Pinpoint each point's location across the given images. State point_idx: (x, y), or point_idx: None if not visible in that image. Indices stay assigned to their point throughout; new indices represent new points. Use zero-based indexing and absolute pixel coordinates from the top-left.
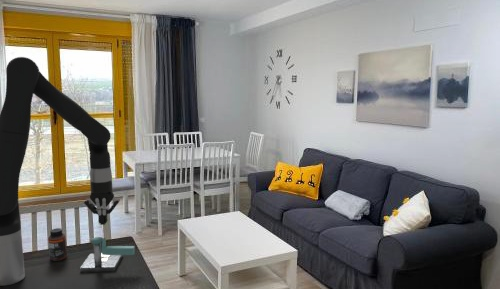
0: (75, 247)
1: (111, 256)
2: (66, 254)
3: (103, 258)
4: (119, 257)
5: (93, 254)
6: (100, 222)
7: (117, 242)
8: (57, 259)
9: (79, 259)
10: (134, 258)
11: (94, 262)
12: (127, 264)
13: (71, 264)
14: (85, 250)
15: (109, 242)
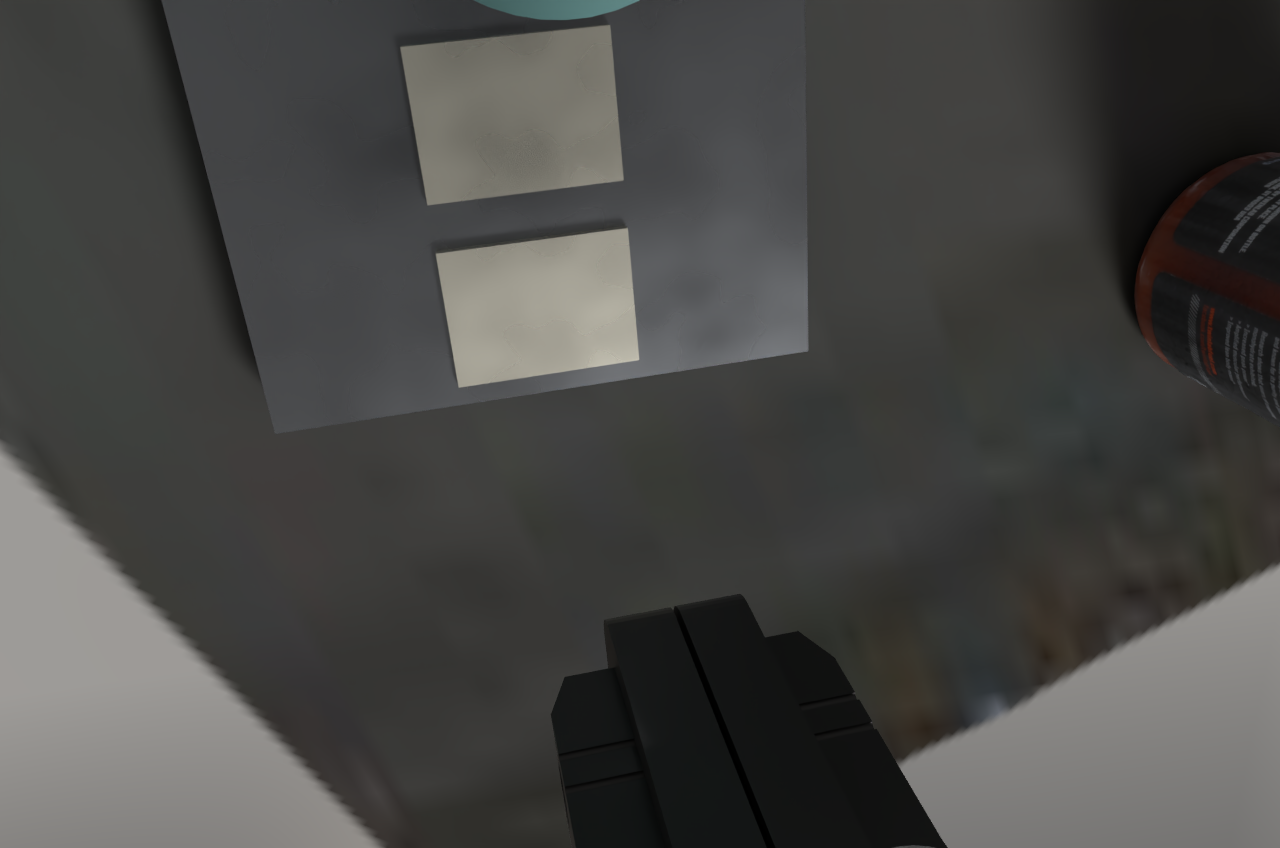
0: (1082, 589)
1: (405, 275)
2: (1154, 300)
3: (507, 165)
4: (231, 246)
5: (749, 323)
6: (760, 636)
7: None
8: (1239, 160)
9: (929, 243)
10: (23, 357)
11: None
12: (19, 109)
13: (998, 59)
14: (930, 527)
15: None
